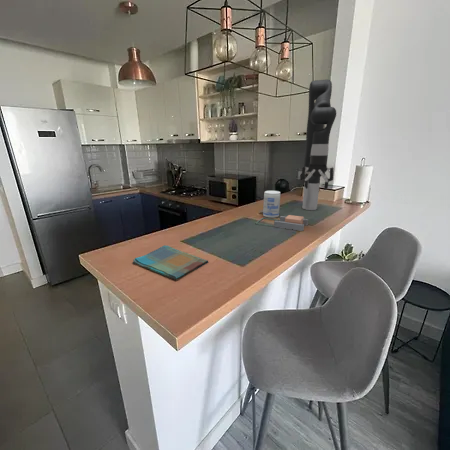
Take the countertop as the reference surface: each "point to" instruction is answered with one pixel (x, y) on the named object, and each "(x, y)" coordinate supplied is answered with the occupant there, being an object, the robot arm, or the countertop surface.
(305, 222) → the chute
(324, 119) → the robot arm
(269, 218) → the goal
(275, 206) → the supplement tub
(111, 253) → the countertop surface
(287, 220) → the block
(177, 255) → the dish towel
